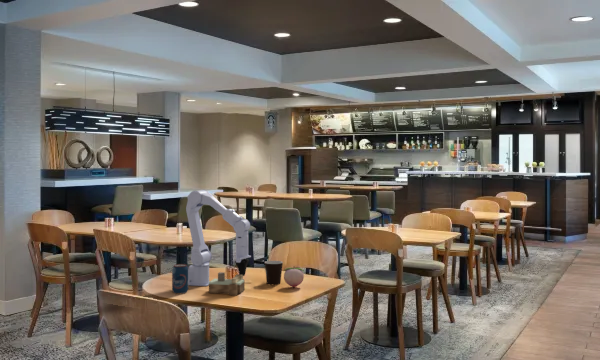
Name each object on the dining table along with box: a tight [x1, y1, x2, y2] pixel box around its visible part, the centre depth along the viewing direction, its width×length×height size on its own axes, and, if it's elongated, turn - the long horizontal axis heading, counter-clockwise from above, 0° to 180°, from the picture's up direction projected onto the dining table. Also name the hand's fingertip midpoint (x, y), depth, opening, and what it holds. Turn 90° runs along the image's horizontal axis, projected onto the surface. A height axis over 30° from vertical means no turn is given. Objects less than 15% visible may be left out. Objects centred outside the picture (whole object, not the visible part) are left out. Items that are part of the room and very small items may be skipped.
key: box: [231, 273, 244, 283], centre depth 254 cm, size 3×10×2 cm, turn 171°
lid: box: [209, 271, 245, 285], centre depth 254 cm, size 14×8×5 cm, turn 81°
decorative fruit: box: [283, 267, 305, 288], centre depth 263 cm, size 9×8×10 cm
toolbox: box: [208, 278, 246, 297], centre depth 254 cm, size 14×13×5 cm
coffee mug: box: [264, 260, 284, 286], centre depth 273 cm, size 12×9×10 cm
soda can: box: [171, 263, 189, 294], centre depth 253 cm, size 7×7×12 cm
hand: (242, 275), depth 263 cm, fingers closed
